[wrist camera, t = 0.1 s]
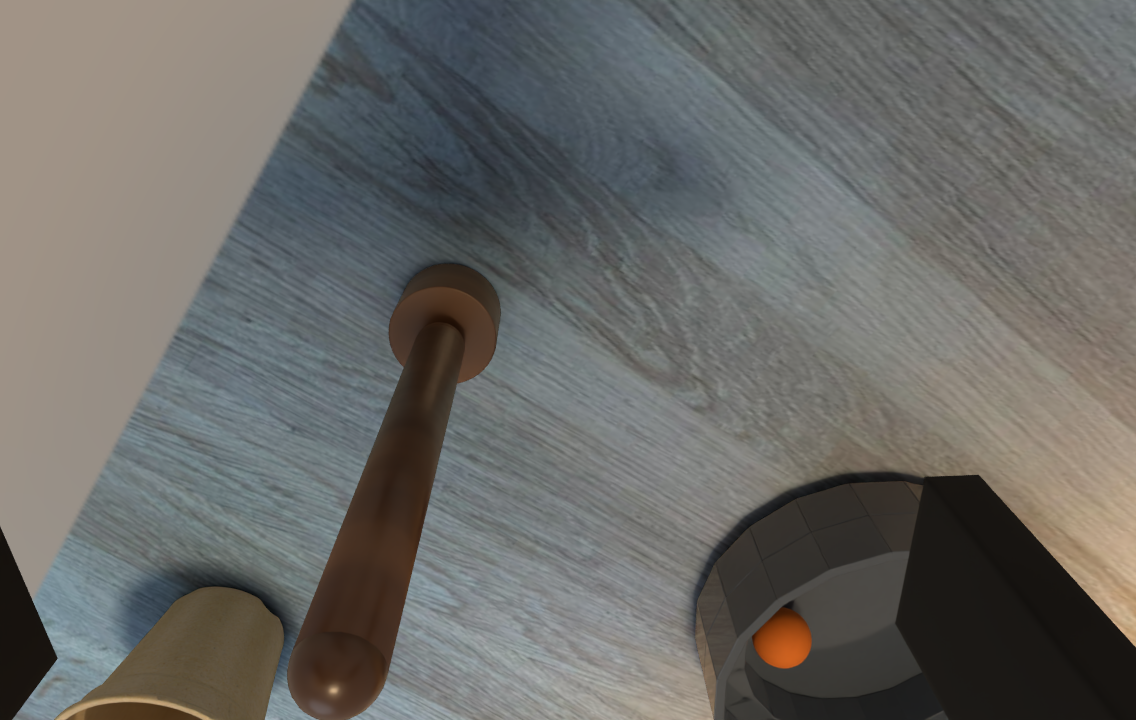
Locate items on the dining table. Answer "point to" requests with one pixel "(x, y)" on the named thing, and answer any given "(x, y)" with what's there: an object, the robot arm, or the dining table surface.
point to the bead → (783, 639)
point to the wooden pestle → (392, 495)
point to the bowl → (818, 611)
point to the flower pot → (194, 664)
